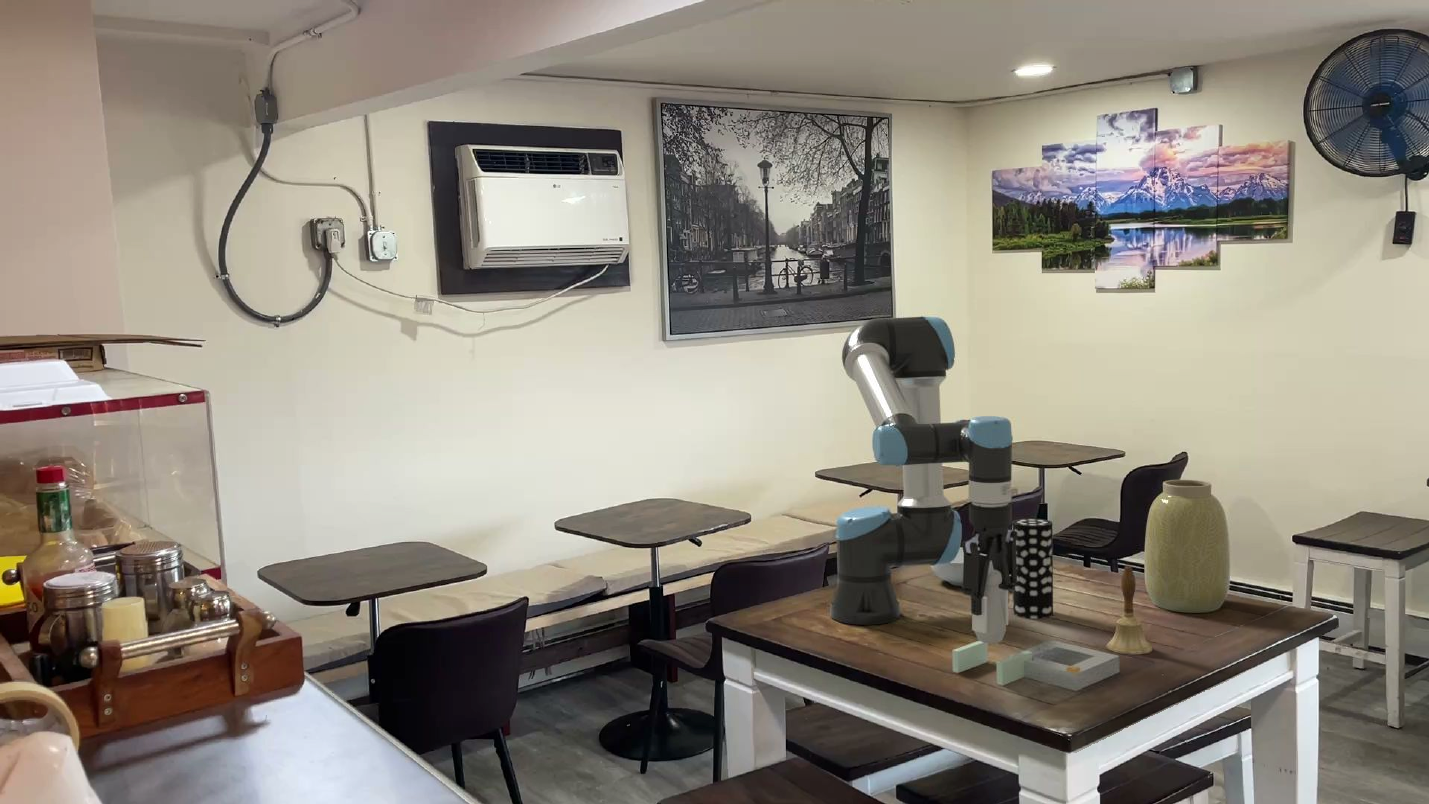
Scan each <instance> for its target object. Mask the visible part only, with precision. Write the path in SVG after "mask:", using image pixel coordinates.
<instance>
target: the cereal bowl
mask: <svg viewBox="0 0 1429 804" xmlns="http://www.w3.org/2000/svg"><path fill="white" fill-rule="evenodd" d="M981 555H985V554H981ZM985 556H986V555H985ZM963 564H964V553H963V548H962V547H961V546H960V548H959V551H958V554H957V556H956V557H955V559H954V560H953V561H951V562H949V563H945V564H937V565H935V566H932V565H930V567H931V569H932V572H933V574H935V576H936V577H938V578H939V579H941V580H943V581H946V582H948V583H949V584H951V585H952V586H957V587H963ZM989 569H993V564H992V561H990V563H989Z"/></svg>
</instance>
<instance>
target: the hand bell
mask: <svg viewBox="0 0 1429 804" xmlns="http://www.w3.org/2000/svg"><path fill="white" fill-rule="evenodd" d="M1120 582H1121V583H1120V584H1121V585H1120V586H1121V591H1122V595H1123V600H1124V604H1123V605H1124V607H1123V612H1124V613H1123V616H1122V617H1121V618H1119V619H1117V621H1116V626H1115V631H1114V635H1113V637H1112V638H1111V640H1110V641H1108V642H1107V644H1106V649H1107V650H1109V651H1111V652H1113V653H1117V654H1122V655H1132V656H1134V655H1135V656H1136V655H1144V654H1145V655H1146V654H1149V653H1152V652H1153V647H1152V645H1151V644H1150V643H1149V642H1148V641H1147V640H1146V638H1145V635H1144V631H1143V627H1142V622H1141V621H1140V620H1139V619H1138V618H1136V617H1135V616H1134V597H1135V592H1136V588H1137V587H1136V586H1137V585H1136V577H1135V574H1134V571H1133V567H1132V566H1124V569H1123V572H1122V575H1121V581H1120Z"/></svg>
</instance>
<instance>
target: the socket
mask: <svg viewBox="0 0 1429 804" xmlns="http://www.w3.org/2000/svg"><path fill="white" fill-rule="evenodd" d="M1024 651H1029V652H1032V658H1029V659H1027V660H1024V677H1023V678H1025V679H1026V678H1027V679H1030V680H1035V681H1036V682H1037V681H1038V682H1042V683H1046V684H1049V685H1053V686H1056V687H1060V688H1064V689H1068V690H1070V691H1073V692H1074V691H1075V692H1077V691H1079V690H1082V689H1084V688H1086V687H1088V686H1091V685H1093V684H1095V683H1098V682H1100V681H1103V680H1104V679H1107V678H1109V677H1111V676H1114V675H1116V674H1118V673H1120V655H1116V654H1113V653H1108V652H1103V651H1100V650H1096V649H1091V648H1087V647H1084V646H1083V647H1082V646H1079V645H1074V644H1071V643H1067V642H1066V643H1065V642H1061V641H1056V640H1054V639H1050V640H1048V641H1045V642H1043V643H1039V644H1037V645H1035V646H1032V647H1028V648H1027V649H1024V650H1021V651H1019V652H1015V653H1013V654H1010V655H1008V656H1007V658H1008V657H1011V656H1014V655H1016V654H1019V653H1022V652H1024Z"/></svg>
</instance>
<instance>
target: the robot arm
mask: <svg viewBox="0 0 1429 804" xmlns="http://www.w3.org/2000/svg"><path fill="white" fill-rule="evenodd" d="M954 342H955V341H954V337H953V334H952V332H951V329H950V327H949V324H947V322H946V321H945V320H944V319H943V318H940V317H935V316H923V315H922V316H909V317H891V318H889V317H888V318H885V317H880V318H877V317H876V318H872V319H869V320H866V321H864V322H862V323H861V324H859V325H857V327H855V328H854V329H853V330H852V331H851V332H850V333H849V335H848V336H847V338H846V340H845V342H844V344H843V347H842V351H841V360H842V366H843V368H844V370H845V372H846V375H847V376H848V377H849V378H850V379H851V380H852V381H854V382H855V383H856V386H857V388H858V390H859V392H860V395H861V396H862V399H863V401H864V404H865V405H866V408H867V410H868V412H869V414H870V417H871V418H872V421H873V423H874V426H875V428H874V430H873V432H872V439H871V440H872V442H871V443H872V452H873V457H874V460H875V461H876V463H877V464H879V465H880V466H895V467H901V466H902V482H903V484H902V485H903V497H902V498H901V499H900V500H899V501H898V503H896V505H897V508H896V510H897V512H894V513H893V512H891V510H890V508H889V507H886V506H880V505H879V506H863V507H859V508H854V509H850V510H848V511H845V512H844V513H841V515H839V516H838V518H837V521H836V529H835V531H836V533H835V540H836V563H837V582H836V584H835V589H834V592H833V596H832V601H831V603H830V604H829V605H830V609H829V612H830V618H832V619H834V620H835V621H836V622H837V621H838V622H842V623H845V624H849V625H850V624H851V625H862V626H863V625H864V626H865V625H867V626H868V625H882V624H887V623H891V622H893V621H896V620H898V619H899V618H900V617H901V606H900V602H899V601H898V599H897V594H896V592H895V589H894V586H893V582H892V581H893V580H892V568H901V567H915V566H917V567H919V566H928V565H929V566H931V565H932V566H935V565H937V564H945V563H949V562H951V561H953V560H954V559H955V557H956V556H957V554H958V551H959V548H960V547H961V546H962V548H963V553H964V564H963V586H962V594H963V595H965V596H970V601H971V603H970V606H971V608H970V610H971V611H970V612H971V618H972V619H971V623H972V625H971V631H974V632H975V631H977V632H981V633H987V597H984V592H985V586H986V580H987V575H988V569H989V563H990V561H992V564H993V569H994V570H997V571H999V572H1000V573H1001V576H1002V582H1001V584H999V585H998V586H999V591H1000V597H1001V602H1002V608H1003V613H1004V619H1005V625H1006V626H1008V625H1009V604H1010V590H1011V591H1013V589H1014V588H1015V585H1013V583H1014V584H1015V583H1016V582H1017V562H1016V541H1017V535H1018V533H1017V531H1012V529H1009V528H1008V526H1010V525H1011V524H1012V519H1013V516H1012V513H1013V512H1012V511H1013V510H1012V509H1013V508H1012V505H1011V503H1010V502H1012V478H1013V477H1012V470H1013V469H1012V467H1013V463H1012V460H1013V459H1012V457H1013V456H1012V453H1013V450H1012V449H1013V437H1014V436H1013V435H1012V434H1013V433H1012V422H1011V421H1010V419H1008V418H1006V417H1004V416H992V415H986V416H975V417H971V419H957V420H955V421H953V422H942V419H941V390H940V386H941V385H942V384H943V382H944V381H945V379H946V378H947V371H949V370H952V368H954V367H953V366H954V364H955V358H956V351H955V343H954ZM952 463H968V500H969V501H970V504H968V522H969V524H970V525H972V526H973V527H972V528H973V532H972V537H971V539H969V540H963V541H962V535H963V533H962V532H963V529H962V527H963V525H962V523H961V516H960V514H959V512H958V511H956V510H954V509H953V508H952V503H951V501H950V500H949V499H948V498H947V497H946V496H945V495H944V471H943V470H944V469H943V464H952ZM981 554H985V555H986V556H985V555H981Z"/></svg>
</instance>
